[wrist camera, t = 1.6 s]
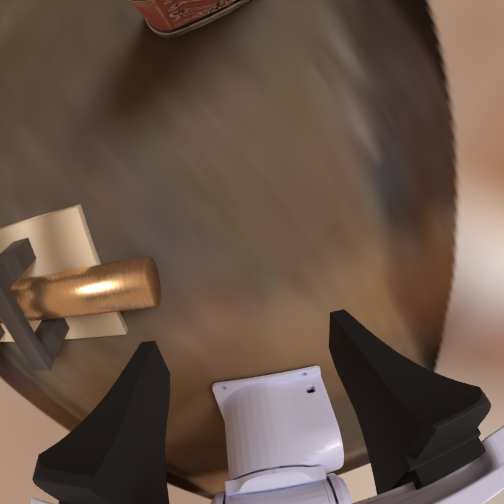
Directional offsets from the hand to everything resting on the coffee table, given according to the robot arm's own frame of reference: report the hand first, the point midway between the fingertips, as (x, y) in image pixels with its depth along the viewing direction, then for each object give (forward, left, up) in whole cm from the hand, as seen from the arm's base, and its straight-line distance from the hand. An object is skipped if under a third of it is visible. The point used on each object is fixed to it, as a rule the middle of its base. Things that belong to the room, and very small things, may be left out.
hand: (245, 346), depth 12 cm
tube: (+12, 0, -8) cm, 14 cm away
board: (+18, 0, -8) cm, 20 cm away
